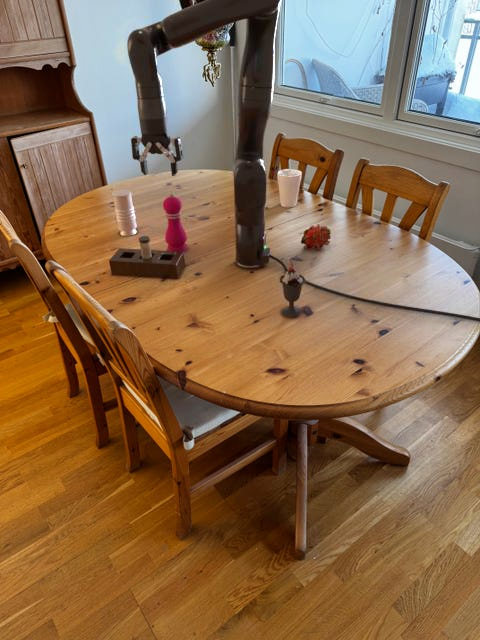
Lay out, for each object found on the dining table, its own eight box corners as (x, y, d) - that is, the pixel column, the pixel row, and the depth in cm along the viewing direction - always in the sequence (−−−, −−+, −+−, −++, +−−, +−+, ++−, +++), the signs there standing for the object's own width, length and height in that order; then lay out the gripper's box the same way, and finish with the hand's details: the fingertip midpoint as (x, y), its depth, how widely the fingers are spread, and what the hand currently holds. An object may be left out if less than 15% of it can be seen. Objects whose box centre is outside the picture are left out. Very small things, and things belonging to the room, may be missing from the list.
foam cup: (273, 202, 192) (274, 170, 185) (294, 199, 194) (295, 168, 187) (282, 210, 185) (283, 177, 177) (303, 207, 187) (305, 174, 180)
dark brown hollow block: (185, 265, 148) (183, 251, 145) (177, 279, 141) (176, 264, 138) (122, 262, 151) (119, 248, 148) (111, 275, 144) (108, 260, 141)
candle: (139, 234, 169) (133, 194, 160) (120, 237, 167) (113, 197, 158) (136, 227, 174) (129, 188, 166) (117, 230, 172) (110, 191, 164)
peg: (155, 268, 147) (150, 236, 141) (152, 273, 145) (147, 240, 138) (145, 267, 148) (140, 235, 141) (142, 272, 145) (137, 240, 139)
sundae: (287, 302, 129) (289, 254, 120) (308, 310, 125) (311, 261, 116) (273, 313, 124) (274, 263, 116) (294, 322, 121) (297, 271, 112)
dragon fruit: (331, 248, 159) (303, 261, 156) (318, 228, 161) (290, 240, 158) (341, 235, 151) (311, 249, 148) (327, 214, 153) (297, 227, 150)
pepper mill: (184, 255, 154) (178, 196, 143) (163, 254, 155) (156, 195, 144) (190, 246, 160) (185, 189, 148) (170, 244, 161) (163, 188, 150)
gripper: (122, 117, 124) (132, 178, 133) (174, 118, 122) (180, 179, 131) (132, 112, 130) (141, 170, 139) (181, 112, 128) (187, 171, 137)
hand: (160, 174), depth 135 cm, fingers open, 8 cm apart
